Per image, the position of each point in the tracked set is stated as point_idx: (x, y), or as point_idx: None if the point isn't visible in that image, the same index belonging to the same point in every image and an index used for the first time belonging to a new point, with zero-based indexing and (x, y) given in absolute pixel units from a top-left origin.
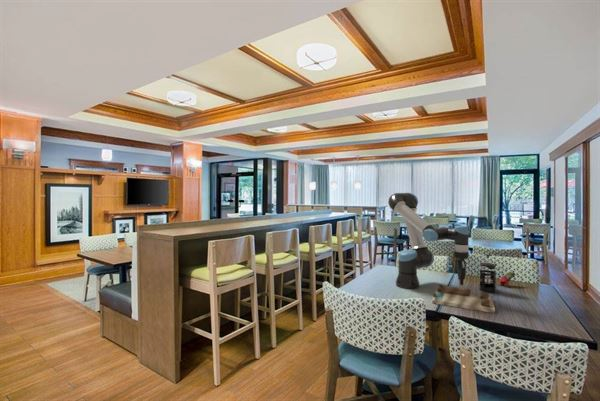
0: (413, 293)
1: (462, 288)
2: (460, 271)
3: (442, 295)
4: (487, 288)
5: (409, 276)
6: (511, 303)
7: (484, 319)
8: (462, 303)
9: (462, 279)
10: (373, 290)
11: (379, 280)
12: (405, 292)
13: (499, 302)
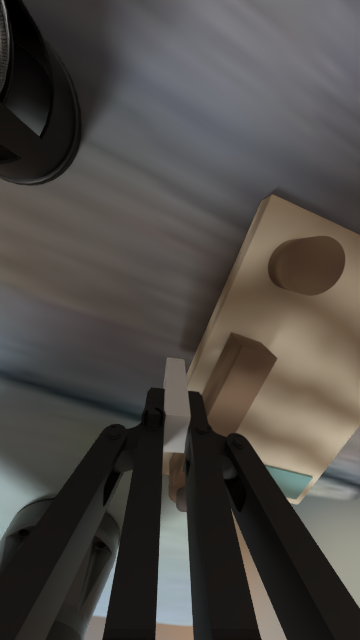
0: (177, 525)
1: (227, 393)
2: (274, 603)
3: None
4: (58, 121)
5: (86, 623)
6: (316, 62)
7: None
8: (358, 411)
9: (217, 441)
10: (163, 610)
11: None
12: (169, 544)
13: (292, 160)
